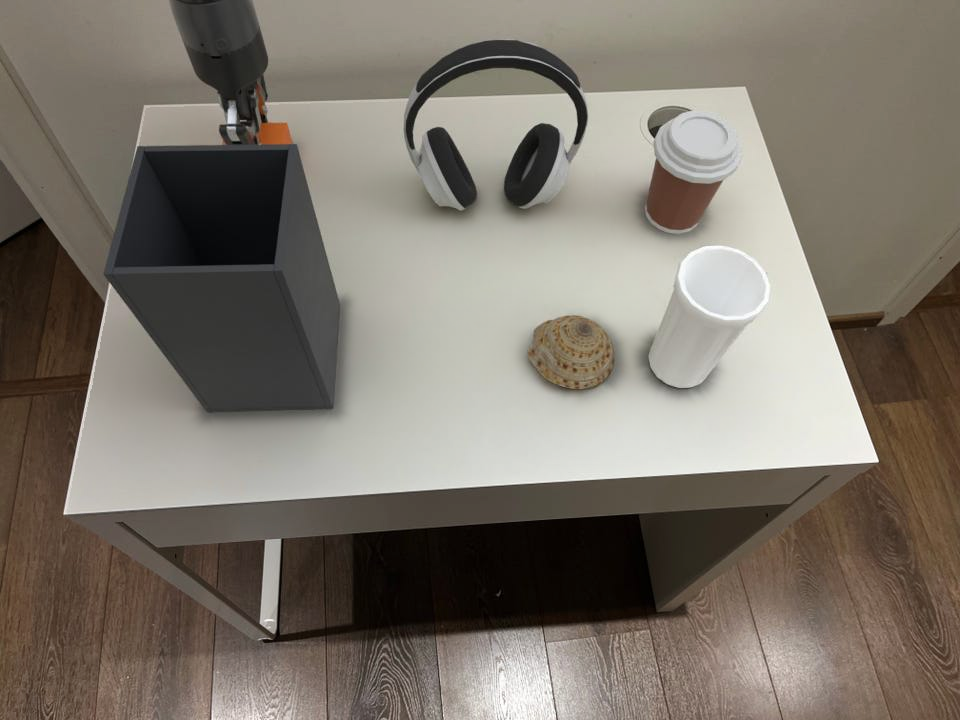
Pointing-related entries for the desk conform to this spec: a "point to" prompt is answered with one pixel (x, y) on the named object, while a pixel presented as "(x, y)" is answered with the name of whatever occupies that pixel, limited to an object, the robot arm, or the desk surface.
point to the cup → (707, 313)
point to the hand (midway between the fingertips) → (261, 155)
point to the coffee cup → (690, 168)
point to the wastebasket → (230, 274)
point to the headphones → (538, 154)
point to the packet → (274, 134)
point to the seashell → (572, 352)
